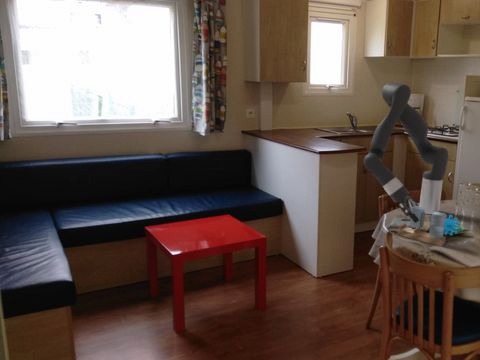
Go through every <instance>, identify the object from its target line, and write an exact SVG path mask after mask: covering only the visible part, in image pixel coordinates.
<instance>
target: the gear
mask: <svg viewBox="0 0 480 360" xmlns="http://www.w3.org/2000/svg"><path fill="white" fill-rule="evenodd" d="M447 216H448V215H447V214H446V216H445V224H444V231H443V235H444V234H445V235H444V236H447V235H448V233H449V236H451V237H452V236H454V235H456V234H459V233H460V232H461V231H463V230H464V229H465V227H464V226H461V222H460V221H458V217H453V215H452V214H449V216H448V218H447ZM458 232H459V233H458Z"/></svg>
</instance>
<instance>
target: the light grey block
mask: <svg viewBox="0 0 480 360" xmlns="http://www.w3.org/2000/svg"><path fill="white" fill-rule="evenodd" d="M412 211H413V214H415V215H416V216H417V218H418V219H419V221H418V222H416V223H415V222H414V221H413V220H412V219H411V218H410V226H413V227H416V228H418V227H421V228H422V227H424V222H425V215H426V214H425V208H423V207H419V205H418V206H415V207H413V209H412ZM410 226H409V227H410ZM422 229H423V228H422Z"/></svg>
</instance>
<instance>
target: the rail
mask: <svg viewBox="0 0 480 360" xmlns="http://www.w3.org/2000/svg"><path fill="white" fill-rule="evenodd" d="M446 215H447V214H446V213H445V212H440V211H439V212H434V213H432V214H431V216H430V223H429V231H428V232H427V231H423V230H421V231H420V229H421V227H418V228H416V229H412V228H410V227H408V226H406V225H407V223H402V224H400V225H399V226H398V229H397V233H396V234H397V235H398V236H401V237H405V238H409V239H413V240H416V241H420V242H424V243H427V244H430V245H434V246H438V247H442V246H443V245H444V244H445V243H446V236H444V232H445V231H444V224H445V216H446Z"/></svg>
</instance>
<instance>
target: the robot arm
mask: <svg viewBox="0 0 480 360" xmlns="http://www.w3.org/2000/svg"><path fill="white" fill-rule="evenodd" d="M411 91H412V90H411V88H410V86H408V85H407V84H405V83H398V82H393V81H392V82H388V83H385V85H384V86H383V87H382V91H381V95H382V99H383V101H384V102H385V103H386V104H387V105H388V107H389V111H388V113H387V114H386V116H385V117H384V118H383V120H382V121H381V122H380V123H379V124H378V125H377V127H376V128H375V130H374V133H373V136H372V139H371V141H370V148H369V151H368V154H366V155H365V156H364V158H363V165H364V167H365V168H366V169H367V170H368V172H370V174H371V175H372V176H374V178H376V180H377V181H378V183H379V184H380V185H381V186H382V188H383V189H384V191H385V192H386V193H387V194H388V196H389V197H390V198H391V199H392V201H393V202H394V203H395V204H396V203H399V204H398V207H399V209H400V210H401V211H402V213H404V215H405V216H406V217H409V218H410V220H411V219H412V220H413V221H414V222H415V223H416V222H418V221H419V219H418V218H417V216H416V215H415V214H413V211H412V209H413V207H415V206H418V207H423V208H425V215H432V213H434V212H440V204H441V198H442V189H443V181H444V177H445V174H446V171H447V167H448V162H449V161H448V160H449V151H448V149H447V148H445V147H443V146H437V145H433V144H432V143H431V142H430V141H429V139H428V133H429V127H428V124H427V122H426V121H425V119H424V117H423V115H421V114H420V113H419V112H418V111H417V110H416V109H415V108H414V107H412V105H410V104H409V101H410V98H411V94H412V92H411ZM398 121H399V122H400V123H401V125H402V127H403V129H404V130H405V132H406V133H407V135H408V136H409V137H410V139H411V140H412V142H413V144H414V145H415V147H416V149H417V151H418V154H419V155H420V158H421V159H422V161H423V162H424V163H425V164H428V165H432V167H431V169H430V170H425V171H423V173H422V181H421V191H420V198H419V204H418V202H416V200H415V199H414V198H413V197H412V196H411V195H409V194H410V192H409V191H408V189H407V188H406V187H405V185H404V184H403V183H402V182H401V181H400V180H399V179H398V178H397V176H395V175H394V173H393V172H392V171H391V170H390V169H389V168H387V167H386V166H385V164H384V163H383V160H384V156H385V155H384V154H385V152H386V148H387V146H388V143H389V141H390V138H391V135H392V132H393V130H394V128H395V126H396V125H397V122H398ZM408 195H409V196H408Z"/></svg>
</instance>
